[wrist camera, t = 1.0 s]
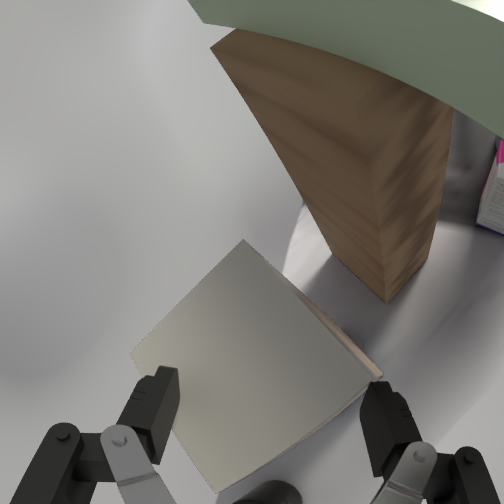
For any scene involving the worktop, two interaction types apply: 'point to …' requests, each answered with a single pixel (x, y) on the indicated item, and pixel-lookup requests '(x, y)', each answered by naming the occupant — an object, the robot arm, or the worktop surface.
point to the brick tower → (252, 367)
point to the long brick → (394, 41)
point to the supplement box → (493, 196)
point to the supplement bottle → (272, 494)
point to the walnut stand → (349, 150)
